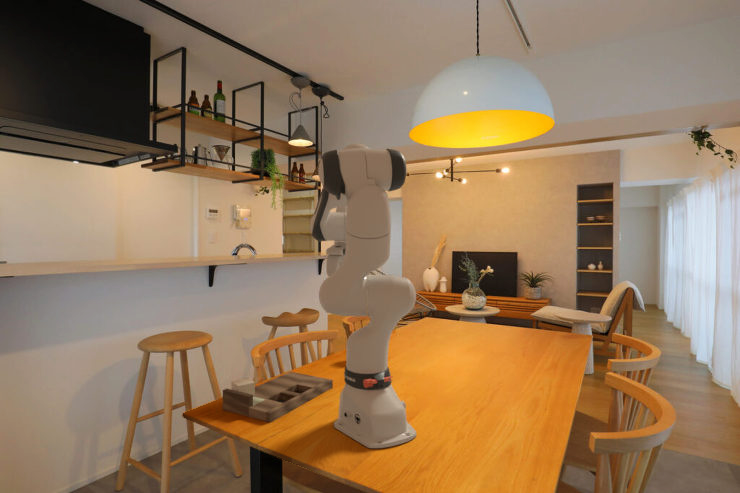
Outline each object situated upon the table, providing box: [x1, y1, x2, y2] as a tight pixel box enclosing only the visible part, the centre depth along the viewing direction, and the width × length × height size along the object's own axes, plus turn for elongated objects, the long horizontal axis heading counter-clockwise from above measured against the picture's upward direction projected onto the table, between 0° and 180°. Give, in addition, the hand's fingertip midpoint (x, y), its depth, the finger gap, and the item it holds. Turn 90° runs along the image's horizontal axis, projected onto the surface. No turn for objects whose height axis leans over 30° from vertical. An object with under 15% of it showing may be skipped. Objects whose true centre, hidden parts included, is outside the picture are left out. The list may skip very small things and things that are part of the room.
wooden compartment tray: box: [222, 371, 334, 423], centre depth 126 cm, size 30×18×6 cm, turn 152°
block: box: [230, 377, 256, 396], centre depth 121 cm, size 5×5×4 cm
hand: (346, 288), depth 149 cm, fingers closed
